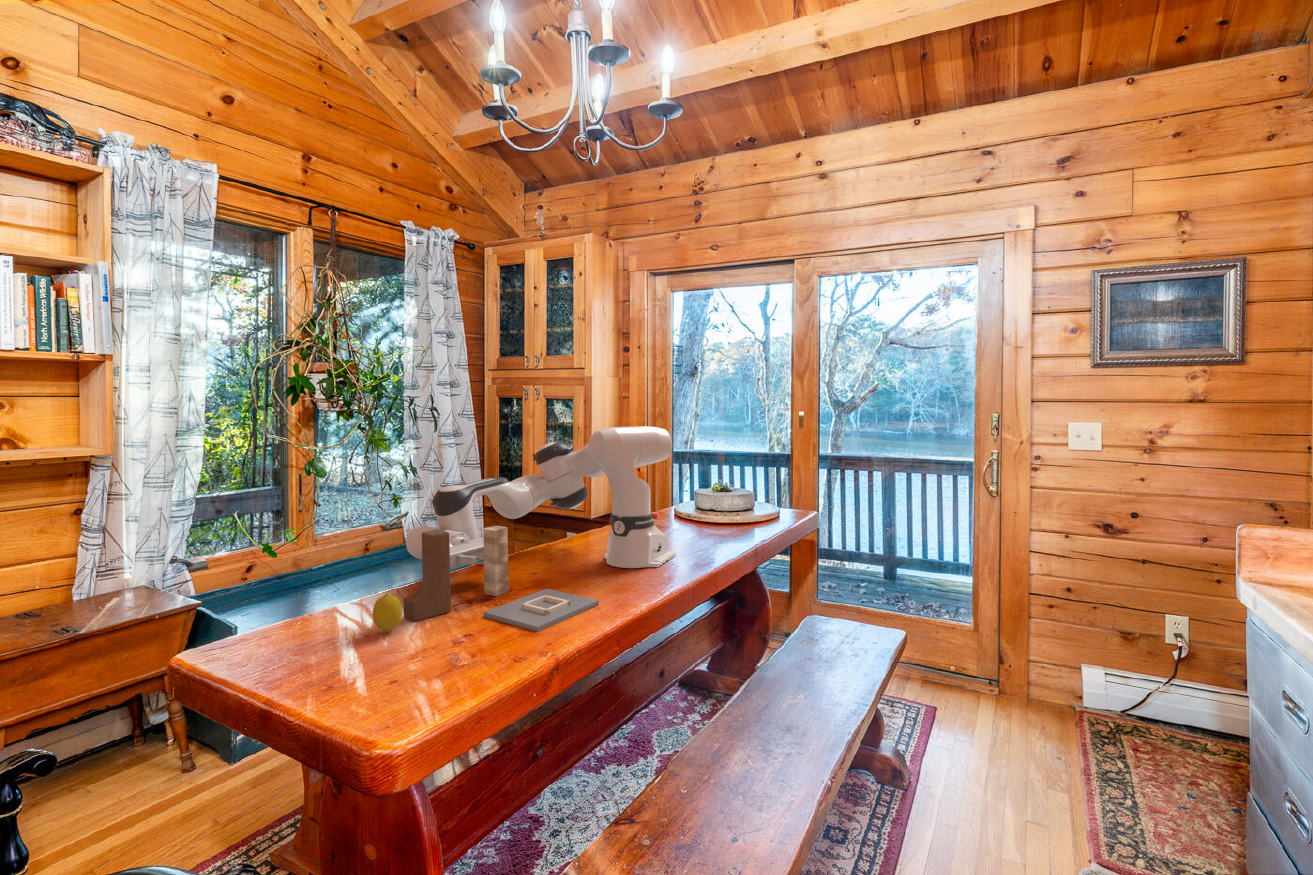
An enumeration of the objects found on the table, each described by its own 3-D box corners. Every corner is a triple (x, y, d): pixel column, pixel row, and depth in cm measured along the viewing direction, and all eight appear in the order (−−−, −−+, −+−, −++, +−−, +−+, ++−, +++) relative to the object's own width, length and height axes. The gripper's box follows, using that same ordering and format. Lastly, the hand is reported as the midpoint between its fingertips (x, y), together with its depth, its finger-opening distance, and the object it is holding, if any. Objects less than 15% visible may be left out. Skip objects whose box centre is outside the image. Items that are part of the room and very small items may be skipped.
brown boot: (412, 622, 135) (410, 538, 134) (402, 617, 138) (400, 535, 137) (451, 612, 142) (450, 532, 140) (441, 607, 145) (439, 529, 143)
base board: (546, 592, 155) (546, 584, 155) (598, 604, 147) (598, 596, 147) (483, 616, 139) (483, 607, 139) (537, 631, 130) (537, 622, 130)
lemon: (373, 629, 131) (372, 591, 130) (402, 625, 133) (401, 588, 133) (373, 639, 126) (371, 599, 125) (403, 635, 128) (402, 596, 128)
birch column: (496, 589, 158) (495, 525, 157) (508, 592, 156) (507, 527, 155) (484, 593, 155) (483, 528, 153) (496, 596, 152) (494, 530, 151)
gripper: (485, 552, 171) (522, 560, 164) (420, 570, 154) (458, 579, 147) (484, 529, 171) (522, 535, 163) (419, 544, 154) (458, 552, 146)
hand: (491, 556), depth 155 cm, fingers open, 8 cm apart
